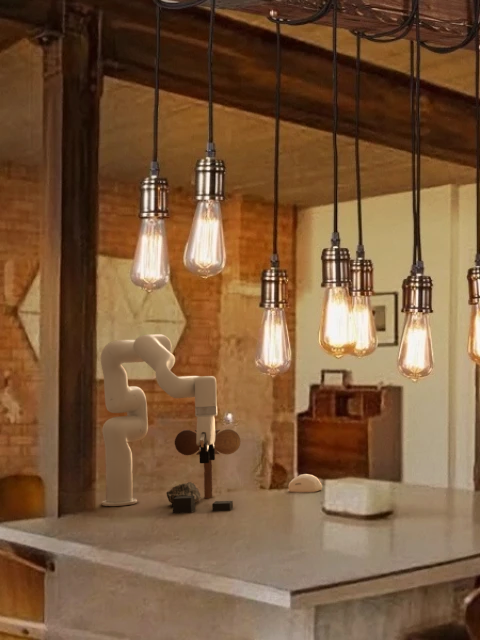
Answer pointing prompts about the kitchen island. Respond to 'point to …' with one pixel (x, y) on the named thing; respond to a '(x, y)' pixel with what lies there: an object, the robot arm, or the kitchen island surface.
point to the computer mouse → (305, 484)
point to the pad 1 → (184, 500)
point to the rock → (183, 491)
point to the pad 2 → (222, 505)
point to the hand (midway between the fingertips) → (207, 461)
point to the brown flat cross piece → (223, 443)
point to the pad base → (184, 509)
